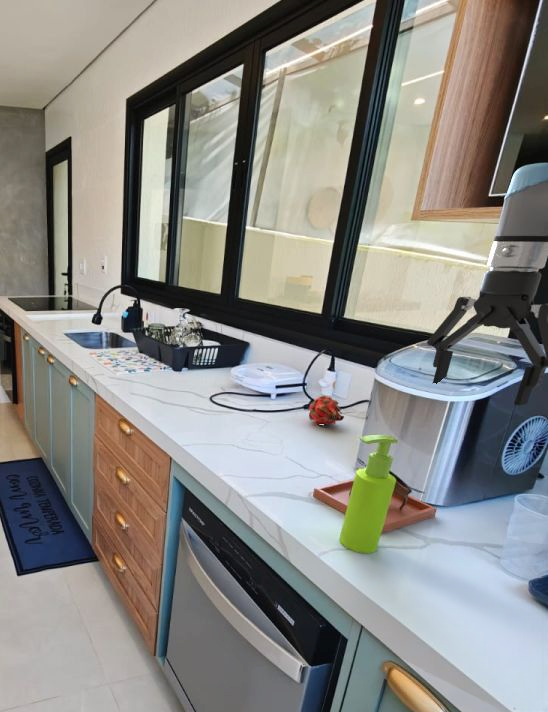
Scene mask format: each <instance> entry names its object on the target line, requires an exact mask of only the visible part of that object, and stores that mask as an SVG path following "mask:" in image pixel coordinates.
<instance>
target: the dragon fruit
mask: <svg viewBox="0 0 548 712" xmlns="http://www.w3.org/2000/svg"><path fill="white" fill-rule="evenodd" d="M308 410H309V413H308V418H309V420H310V421H314V422H315V423H316V424H317V425H318V424H325V425H326V424H327V425H331V426H333V425H334V424H336V423H337V422H340V421H343V420H344V418H345V416H344V415H342V414H343V413H342V411H341V407H340V406H339V402H338V401H337V400H335V399H333V398H332V397H331V396H328V395H327V396H326V395H320V396H319V397H317V398H315V399H314V400H313V401H312V402H311V403H310V404H309V407H308ZM325 425H322V426H321V427H323V426H325Z"/></svg>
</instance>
